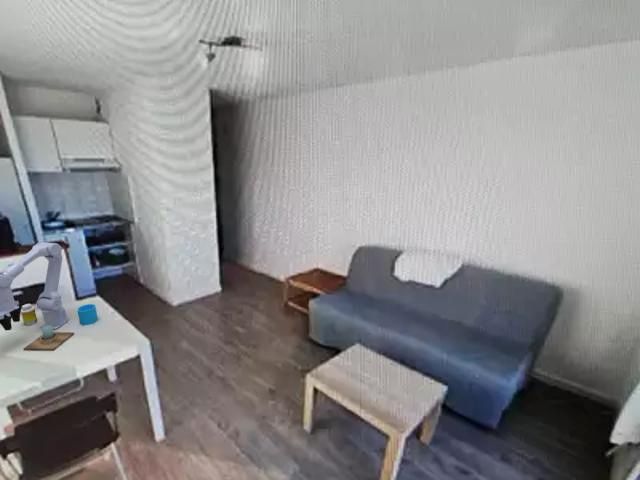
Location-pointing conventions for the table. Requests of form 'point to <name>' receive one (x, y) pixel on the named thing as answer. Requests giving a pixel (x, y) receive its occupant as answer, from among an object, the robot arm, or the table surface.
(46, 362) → the table surface
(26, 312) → the supplement bottle
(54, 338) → the brass collar
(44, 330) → the teal peg
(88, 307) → the mug
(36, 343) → the socket board
